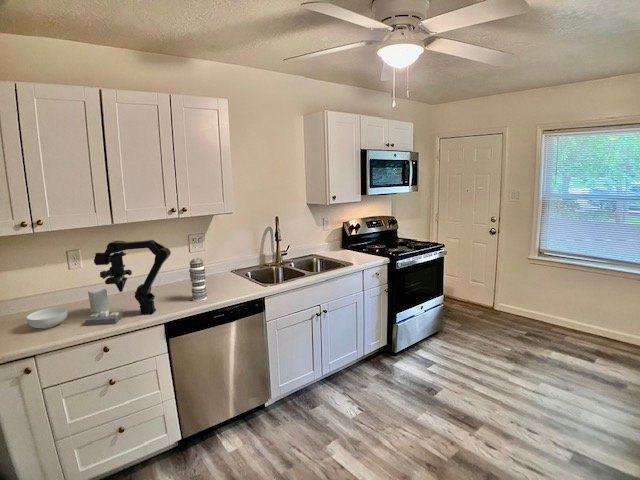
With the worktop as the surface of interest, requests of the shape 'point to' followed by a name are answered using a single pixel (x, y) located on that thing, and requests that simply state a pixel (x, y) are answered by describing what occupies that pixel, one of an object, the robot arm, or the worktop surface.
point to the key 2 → (114, 314)
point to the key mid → (104, 313)
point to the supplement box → (98, 300)
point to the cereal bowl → (47, 317)
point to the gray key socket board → (104, 319)
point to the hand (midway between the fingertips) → (121, 291)
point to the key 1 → (94, 315)
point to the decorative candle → (198, 279)
